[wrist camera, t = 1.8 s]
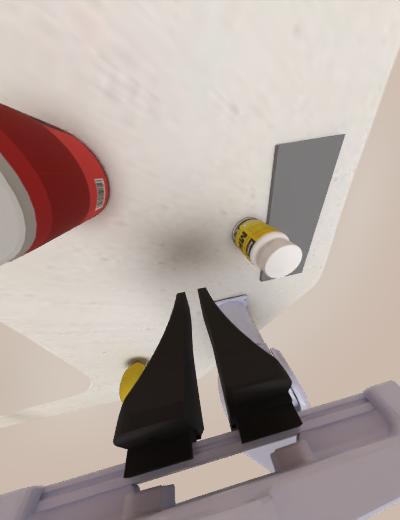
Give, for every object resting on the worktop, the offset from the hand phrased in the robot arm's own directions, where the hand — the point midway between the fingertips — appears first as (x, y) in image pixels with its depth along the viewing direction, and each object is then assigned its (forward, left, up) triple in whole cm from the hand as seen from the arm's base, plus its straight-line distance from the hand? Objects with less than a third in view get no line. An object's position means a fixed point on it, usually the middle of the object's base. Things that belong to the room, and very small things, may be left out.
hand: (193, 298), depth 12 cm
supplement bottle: (0, -10, -11) cm, 14 cm away
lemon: (-28, +17, -11) cm, 34 cm away
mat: (0, -17, -10) cm, 20 cm away
